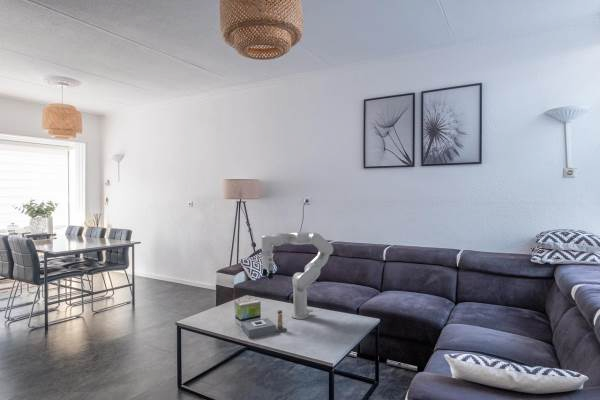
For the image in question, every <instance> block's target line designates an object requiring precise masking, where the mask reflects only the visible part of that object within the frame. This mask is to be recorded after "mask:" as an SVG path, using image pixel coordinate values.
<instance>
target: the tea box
mask: <svg viewBox="0 0 600 400" xmlns="http://www.w3.org/2000/svg"><path fill="white" fill-rule="evenodd" d="M234 306H235V308H234V309H235V314H234V316H235V319H234V320H235V321H234V322H235V324H236V325H238V327H241V328H242V323H245V322H250V321H255V320H260V319H262V317H261V315H262V314H261V312H262V311H261V309H262V308H261V301H260V300H257V298H250V299H245V300H239V301H235V303H234Z"/></svg>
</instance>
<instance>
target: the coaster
mask: <svg viewBox="0 0 600 400" xmlns="http://www.w3.org/2000/svg"><path fill="white" fill-rule="evenodd" d="M285 332H287V328H286V327H284V326H283V329H282V330H278V326H276V333H279V334H281V333H285Z"/></svg>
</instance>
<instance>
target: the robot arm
mask: <svg viewBox="0 0 600 400" xmlns="http://www.w3.org/2000/svg"><path fill="white" fill-rule="evenodd" d="M284 244H291V245H295V246H296V245H297V246H298V245H301V246H302V245H311V244H312V245H313V246H314V247H315V248H316V249H317V250H318V251H317V255H316V256H315V257H314V258H313V259H312V260H310V261H309V262H308V263H307V264H306V265H305V266H304V270H303V271H304V272H301V271H300V272H295V273H294V274H293V276H292V289H293V291H292V292H293V313H292V314H291V317H292V318H293V319H295V320H305V319H308V318H309V317H310V313H313V312H314V309H313V308H311V309H309V308H308V303H307V302H308V299H307V297H308V295H307V294H308V293H307V288H308V287H309V286H310V285H312V283H314V282H315V281H316V280H317V279H318V278H319V276H320V275H321V269H322V267H324V266H325V265H326V264H327V263H328V260H329V257H330V255H332V254H333V253H334V247H333V245H332V244H331V243H330V242H329V241H328V240H327V239H325V238H324V237H323V236H322V235H321V234H320V233H318V232H315V231H307V232H291V233H290V232H288V233H287V232H284V233H274V234H273V235H267V234H266V235H262V236H261V256H262V257H261V259H262V261H261V267H262V276H263V277H266V276H268V277H267V279H268V280H269V279H270V280H271V279H274V274H273V273H274V269H275V268H274V257H273V254H274V253H273V252H274V251H273V246H274V247H279V246H282V245H284Z"/></svg>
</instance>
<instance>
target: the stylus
mask: <svg viewBox="0 0 600 400" xmlns="http://www.w3.org/2000/svg"><path fill="white" fill-rule="evenodd" d="M277 327H278V330H282V329H283V327H284V326H283V310H282V309H280V310H279V309H278V310H277Z"/></svg>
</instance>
